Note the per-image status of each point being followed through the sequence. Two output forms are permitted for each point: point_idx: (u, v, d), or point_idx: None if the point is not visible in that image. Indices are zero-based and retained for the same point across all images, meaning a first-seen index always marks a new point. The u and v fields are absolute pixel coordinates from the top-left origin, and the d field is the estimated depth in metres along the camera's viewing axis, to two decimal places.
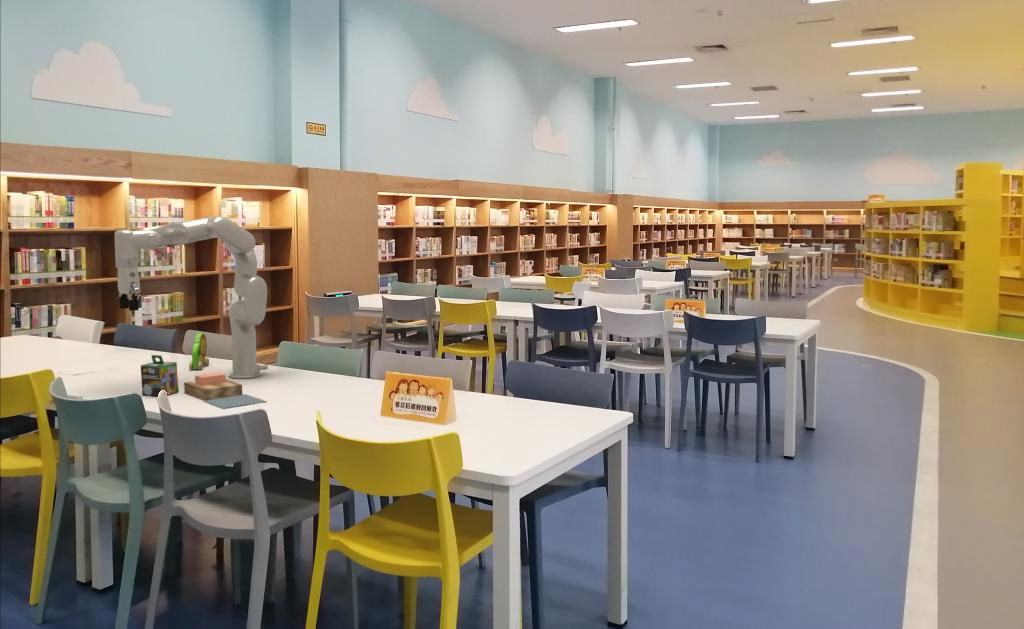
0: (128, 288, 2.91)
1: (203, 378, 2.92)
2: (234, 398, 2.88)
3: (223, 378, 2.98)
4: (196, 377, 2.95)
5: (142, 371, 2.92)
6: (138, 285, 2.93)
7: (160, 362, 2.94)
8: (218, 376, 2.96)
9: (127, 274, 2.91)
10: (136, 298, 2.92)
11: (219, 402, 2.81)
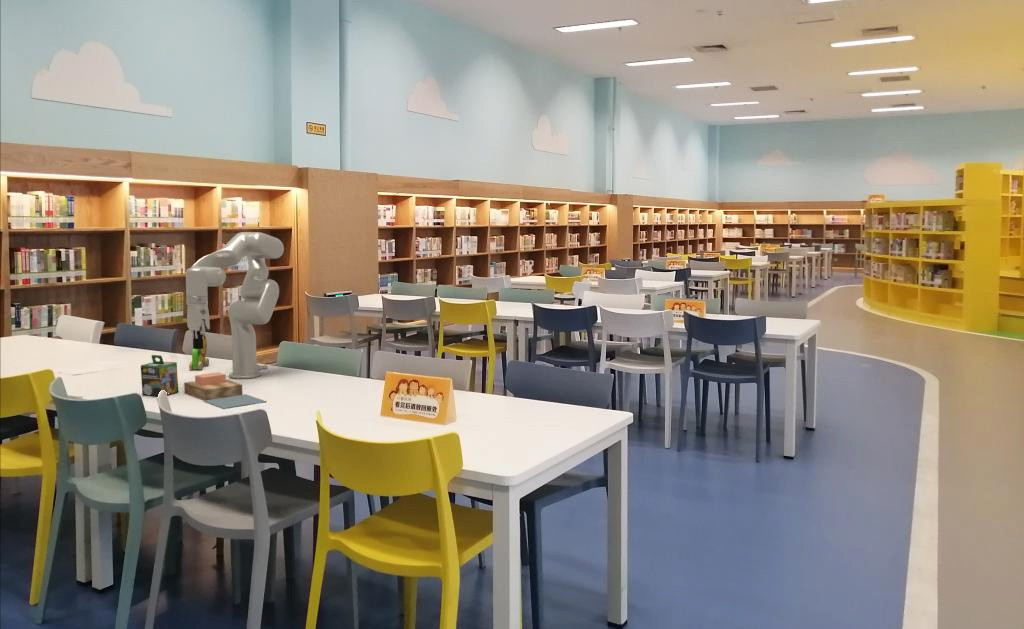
0: None
1: (203, 378, 2.92)
2: (234, 398, 2.88)
3: (223, 378, 2.98)
4: (196, 377, 2.95)
5: (142, 371, 2.92)
6: (208, 322, 2.99)
7: (160, 362, 2.94)
8: (218, 376, 2.96)
9: (198, 311, 2.96)
10: None
11: (219, 402, 2.81)
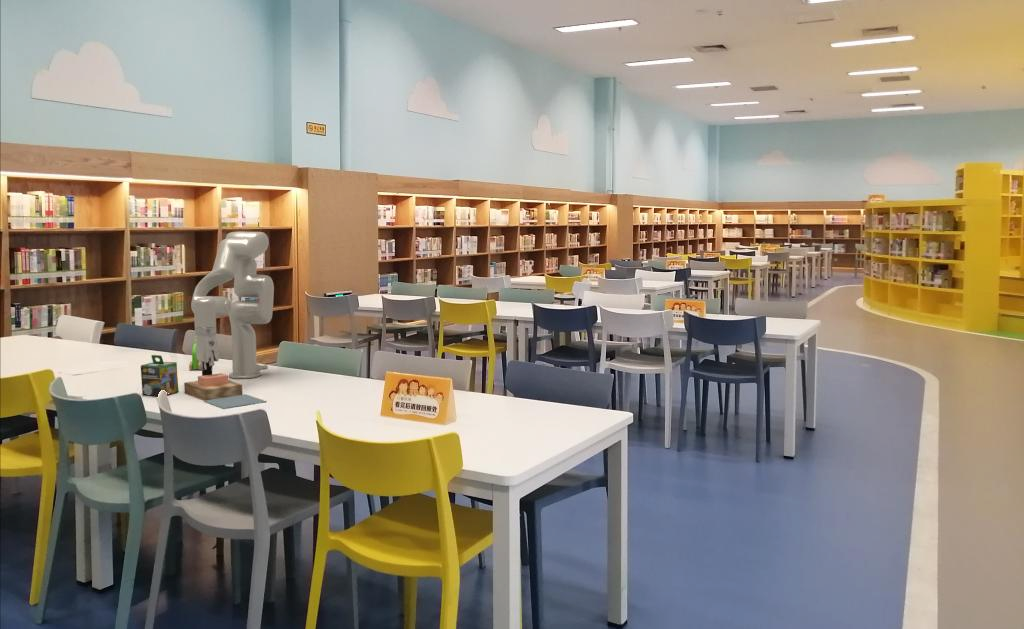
0: (206, 361, 2.95)
1: (205, 379, 2.90)
2: (234, 398, 2.88)
3: (226, 379, 2.96)
4: (199, 378, 2.94)
5: (142, 371, 2.92)
6: (217, 353, 2.96)
7: (160, 362, 2.94)
8: (221, 377, 2.94)
9: (207, 343, 2.93)
10: None
11: (219, 402, 2.81)
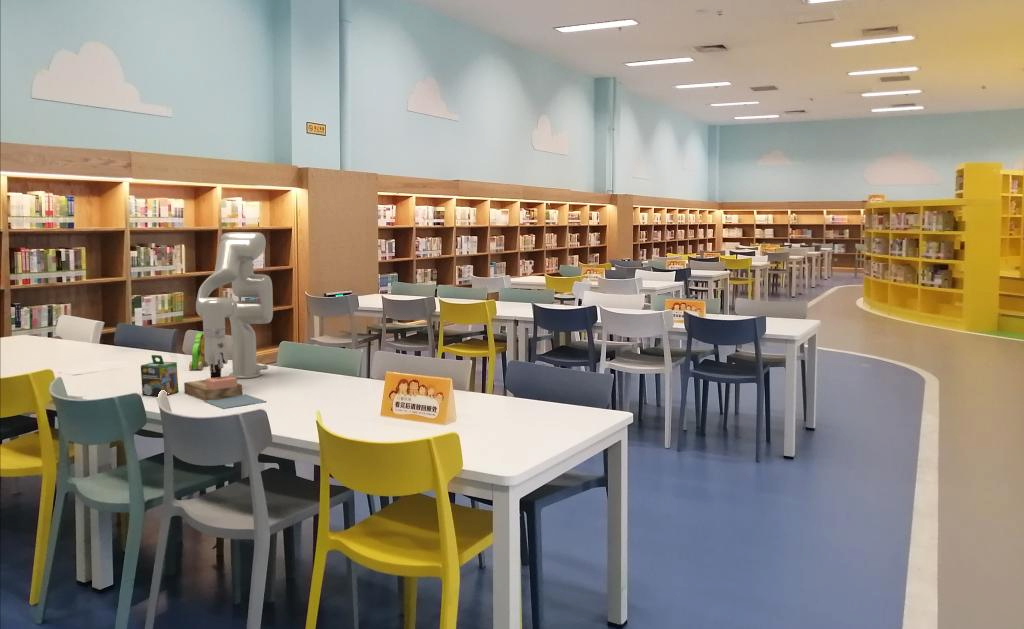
0: None
1: (214, 382, 2.85)
2: (234, 398, 2.88)
3: (234, 382, 2.90)
4: (207, 381, 2.88)
5: (142, 371, 2.92)
6: (226, 355, 2.91)
7: (160, 362, 2.94)
8: (229, 380, 2.89)
9: (215, 345, 2.88)
10: None
11: (219, 402, 2.81)
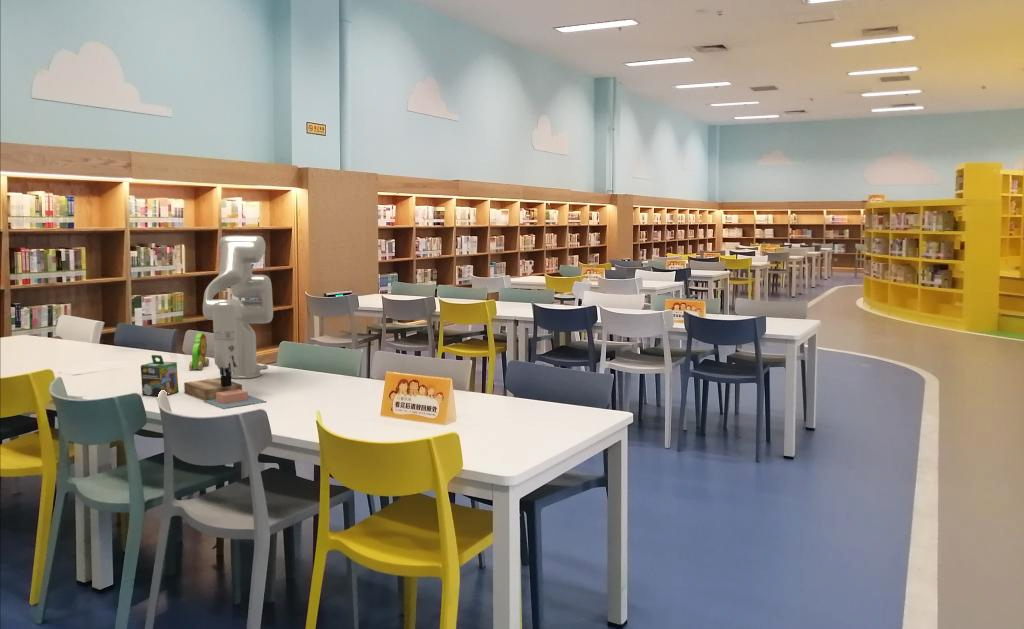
0: (225, 367, 2.84)
1: None
2: None
3: None
4: (221, 401, 2.80)
5: (142, 371, 2.92)
6: (236, 358, 2.85)
7: (160, 362, 2.94)
8: None
9: (226, 348, 2.82)
10: None
11: (219, 402, 2.81)
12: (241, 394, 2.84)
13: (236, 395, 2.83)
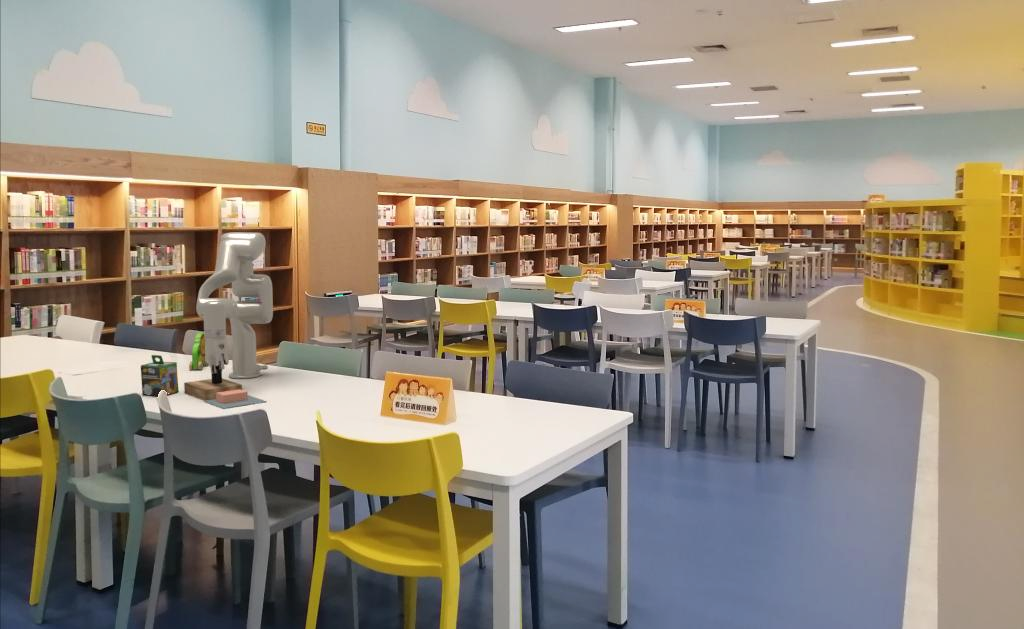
0: (216, 365, 2.89)
1: None
2: None
3: None
4: (221, 401, 2.80)
5: (142, 371, 2.92)
6: (227, 356, 2.91)
7: (160, 362, 2.94)
8: None
9: (216, 346, 2.88)
10: None
11: (219, 402, 2.81)
12: (241, 394, 2.84)
13: (236, 395, 2.83)
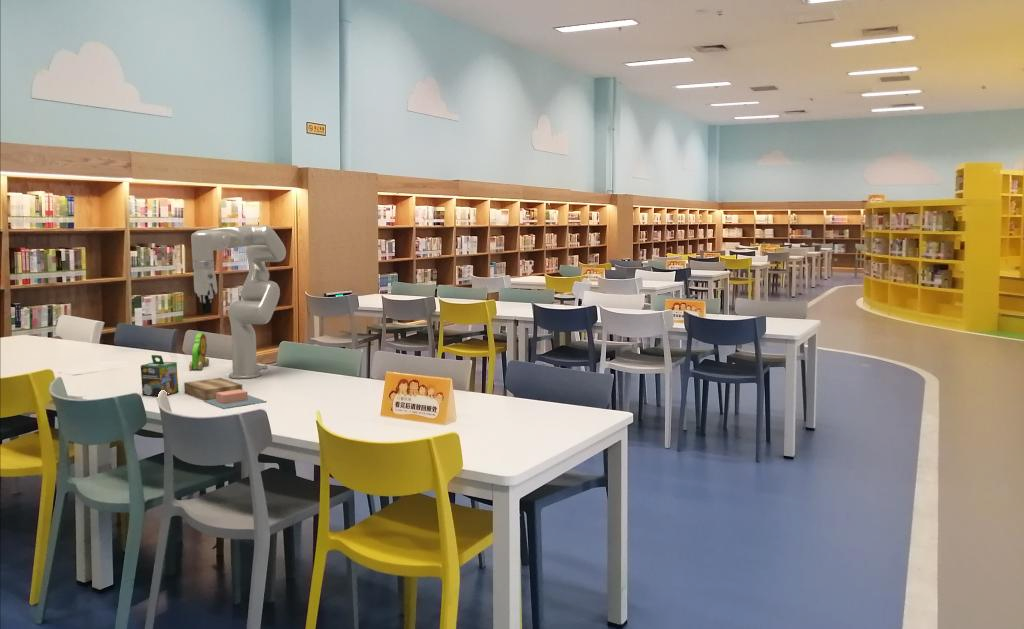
0: (205, 294, 2.99)
1: None
2: None
3: None
4: (221, 401, 2.80)
5: (142, 371, 2.92)
6: (215, 286, 3.00)
7: (160, 362, 2.94)
8: None
9: (205, 276, 2.97)
10: None
11: (219, 402, 2.81)
12: (241, 394, 2.84)
13: (236, 395, 2.83)
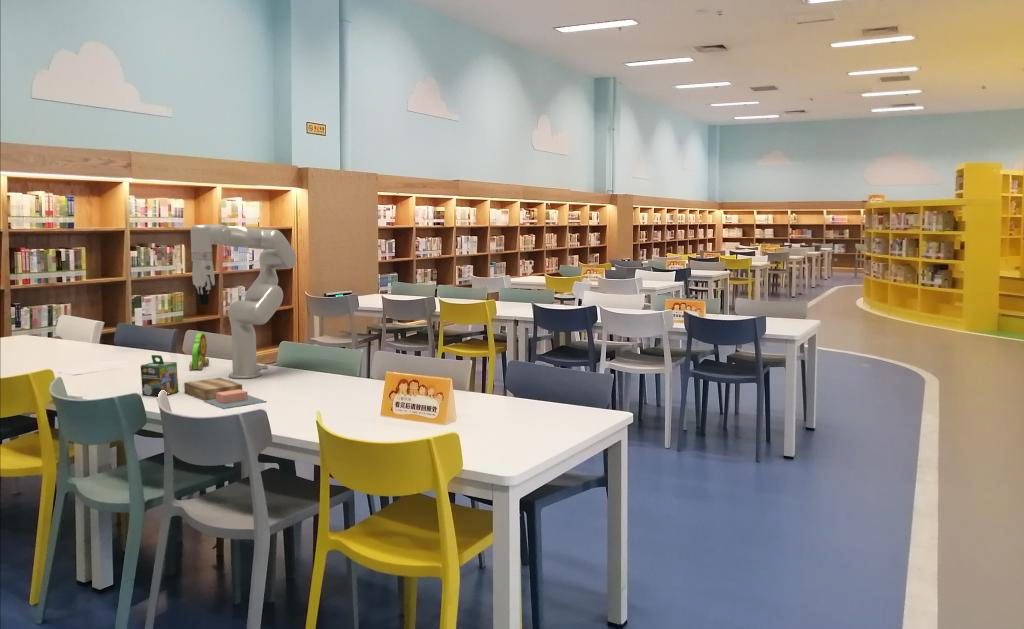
0: (202, 285, 3.04)
1: None
2: None
3: None
4: (221, 401, 2.80)
5: (142, 371, 2.92)
6: (213, 278, 3.05)
7: (160, 362, 2.94)
8: None
9: (203, 267, 3.02)
10: (206, 294, 3.07)
11: (219, 402, 2.81)
12: (241, 394, 2.84)
13: (236, 395, 2.83)
